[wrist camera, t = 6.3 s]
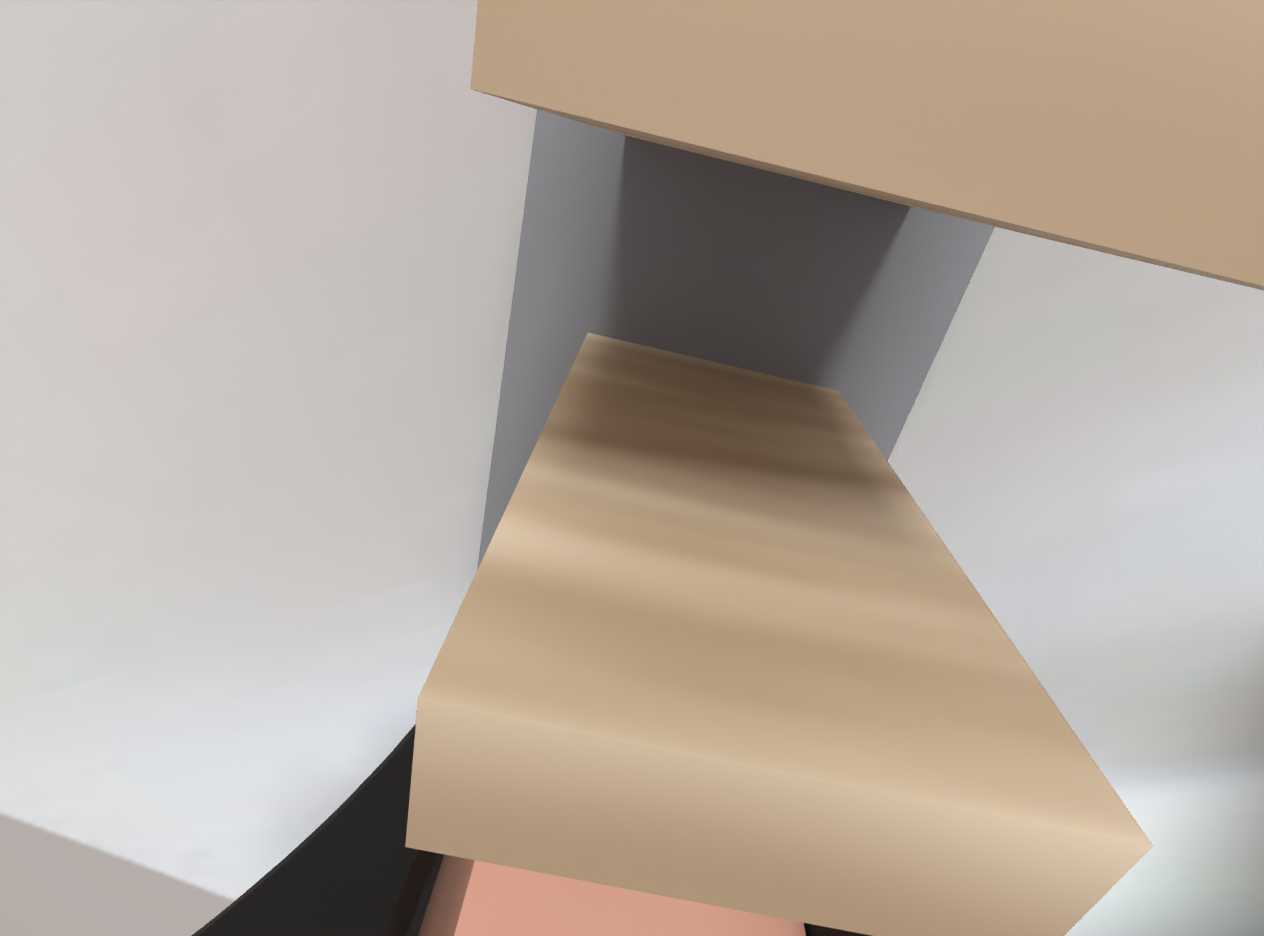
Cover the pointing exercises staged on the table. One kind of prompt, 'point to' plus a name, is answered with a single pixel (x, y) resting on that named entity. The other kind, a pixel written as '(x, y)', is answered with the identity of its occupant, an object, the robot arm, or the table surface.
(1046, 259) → the table surface
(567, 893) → the terracotta domino
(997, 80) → the maple domino
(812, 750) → the maple domino
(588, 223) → the mat
